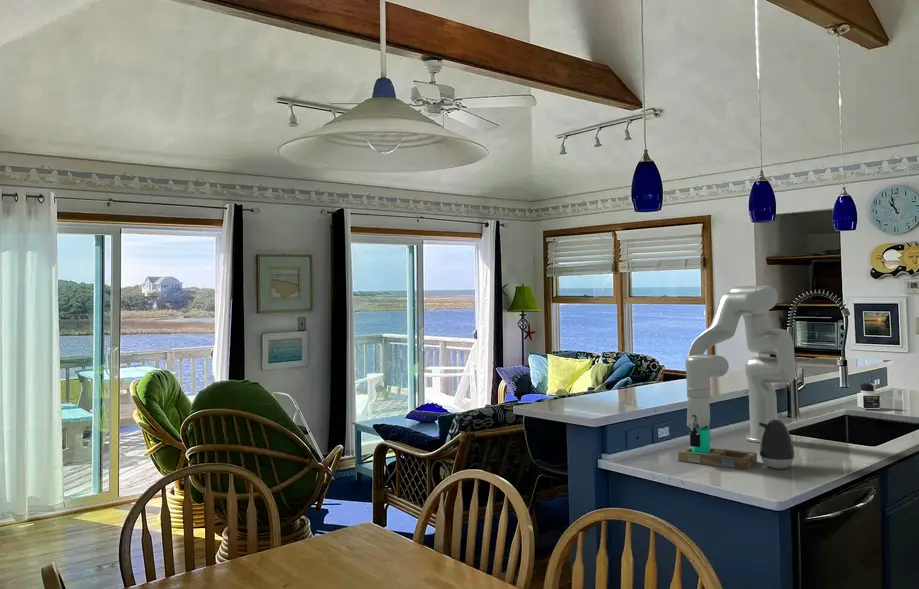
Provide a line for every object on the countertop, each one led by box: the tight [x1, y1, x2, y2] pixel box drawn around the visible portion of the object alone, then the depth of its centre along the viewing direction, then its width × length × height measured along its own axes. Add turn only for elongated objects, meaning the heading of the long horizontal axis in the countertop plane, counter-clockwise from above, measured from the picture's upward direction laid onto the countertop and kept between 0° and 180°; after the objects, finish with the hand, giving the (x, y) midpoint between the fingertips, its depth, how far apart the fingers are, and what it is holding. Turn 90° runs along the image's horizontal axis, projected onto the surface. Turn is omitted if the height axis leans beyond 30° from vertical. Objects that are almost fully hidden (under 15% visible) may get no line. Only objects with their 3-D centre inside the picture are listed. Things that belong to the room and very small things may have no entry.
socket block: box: [677, 445, 758, 470], centre depth 228 cm, size 12×22×3 cm, turn 52°
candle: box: [692, 428, 711, 454], centre depth 232 cm, size 6×6×12 cm
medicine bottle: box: [856, 382, 881, 409], centre depth 319 cm, size 7×7×12 cm
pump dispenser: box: [759, 419, 796, 470], centre depth 219 cm, size 10×10×15 cm
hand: (700, 443), depth 232 cm, fingers open, 9 cm apart
